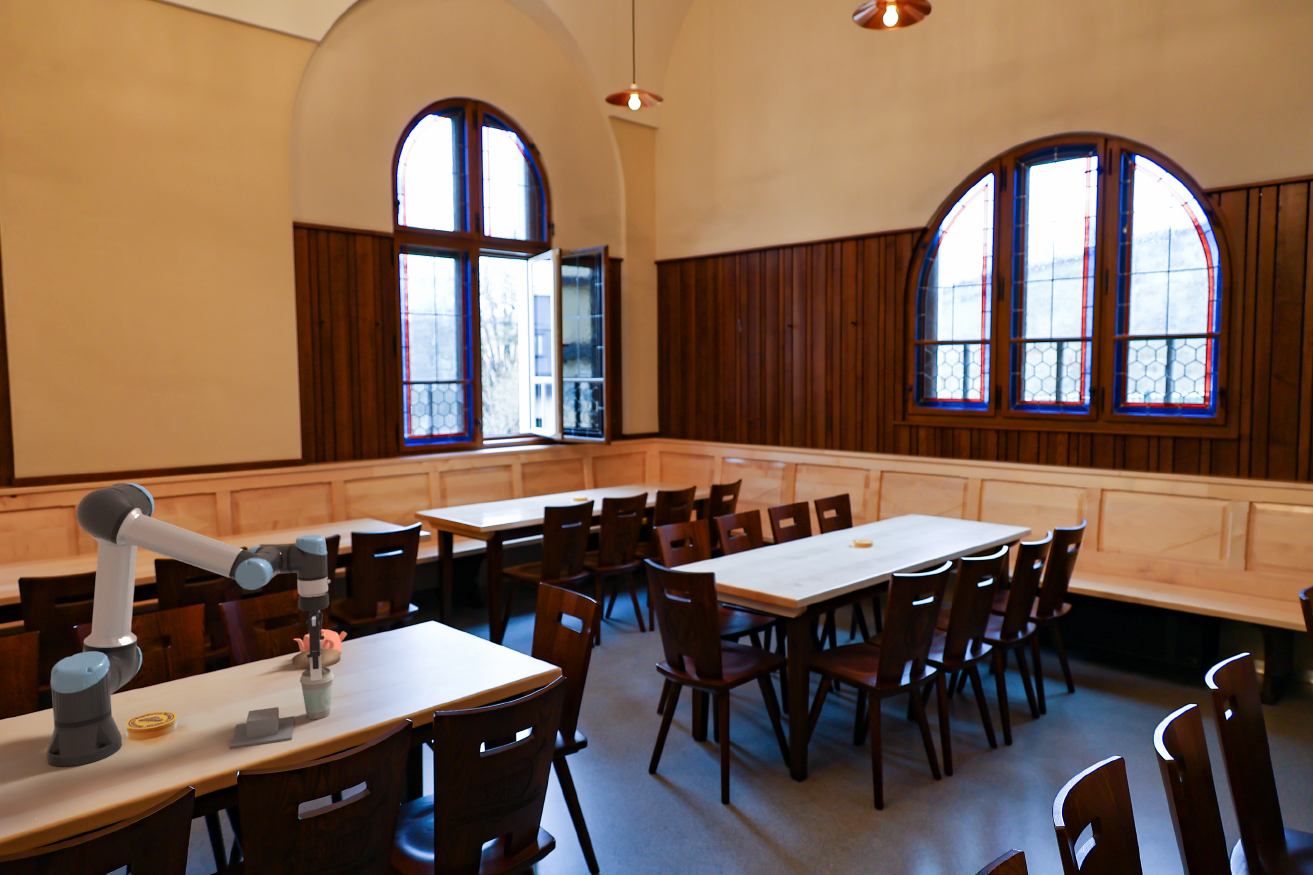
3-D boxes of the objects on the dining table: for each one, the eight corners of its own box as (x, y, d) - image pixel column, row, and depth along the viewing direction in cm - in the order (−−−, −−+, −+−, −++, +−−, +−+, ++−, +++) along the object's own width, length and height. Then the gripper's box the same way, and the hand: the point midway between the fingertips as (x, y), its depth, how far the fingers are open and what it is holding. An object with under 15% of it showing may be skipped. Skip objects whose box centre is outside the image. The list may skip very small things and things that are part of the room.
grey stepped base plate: (230, 748, 206) (229, 729, 206) (236, 726, 219) (235, 707, 219) (291, 739, 211) (290, 720, 211) (294, 718, 224) (293, 700, 224)
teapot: (313, 653, 277) (312, 623, 276) (349, 652, 276) (347, 622, 276) (294, 668, 262) (292, 637, 261) (331, 668, 262) (330, 636, 261)
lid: (291, 672, 217) (290, 661, 217) (293, 657, 229) (293, 647, 228) (340, 666, 222) (340, 655, 221) (340, 652, 233) (339, 642, 233)
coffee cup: (323, 722, 221) (321, 678, 220) (294, 720, 223) (292, 676, 222) (341, 709, 230) (340, 667, 229) (313, 707, 231) (312, 665, 230)
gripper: (327, 603, 214) (331, 685, 215) (329, 581, 236) (332, 655, 238) (296, 606, 211) (299, 689, 213) (300, 584, 234) (303, 659, 235)
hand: (317, 671), depth 225 cm, fingers closed on lid, 12 cm apart
